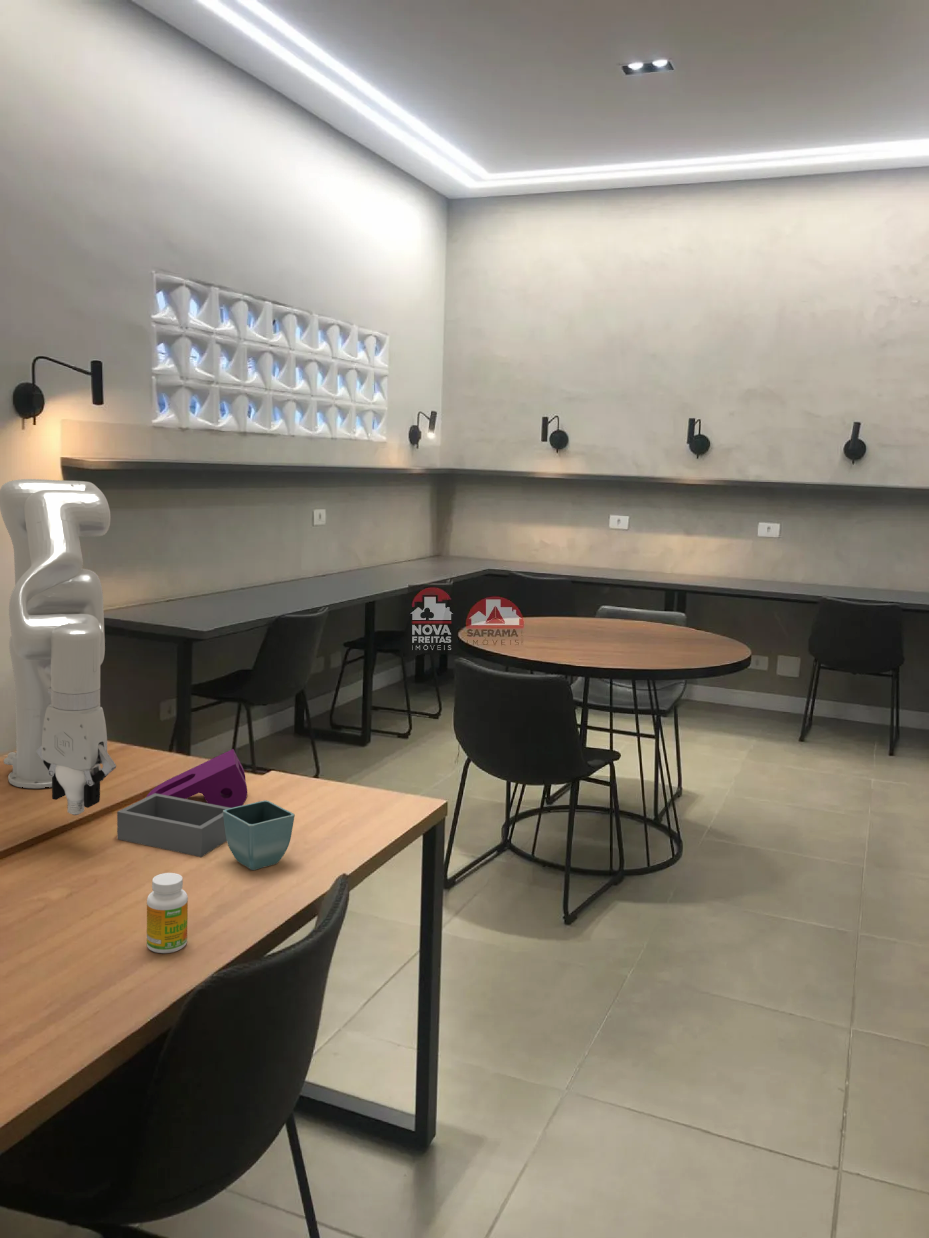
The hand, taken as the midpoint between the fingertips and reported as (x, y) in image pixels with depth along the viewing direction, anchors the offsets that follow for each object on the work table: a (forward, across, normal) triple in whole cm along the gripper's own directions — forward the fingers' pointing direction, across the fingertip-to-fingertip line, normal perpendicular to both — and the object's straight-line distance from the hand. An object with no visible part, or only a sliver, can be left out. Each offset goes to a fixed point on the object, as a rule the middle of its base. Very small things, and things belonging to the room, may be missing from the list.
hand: (76, 799), depth 164 cm
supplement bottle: (+6, +34, -22) cm, 41 cm away
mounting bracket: (+9, +7, +25) cm, 28 cm away
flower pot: (+7, +31, +7) cm, 33 cm away
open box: (+8, +13, +10) cm, 18 cm away
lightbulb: (+3, 0, 0) cm, 3 cm away
